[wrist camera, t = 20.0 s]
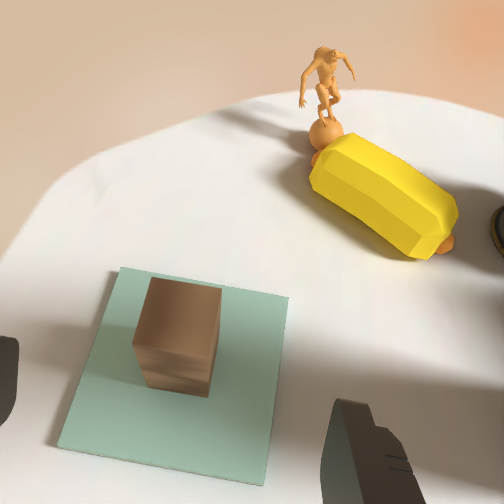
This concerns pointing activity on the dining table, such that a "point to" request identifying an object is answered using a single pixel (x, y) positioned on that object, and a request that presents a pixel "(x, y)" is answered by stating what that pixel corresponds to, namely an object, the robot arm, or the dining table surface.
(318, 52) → the figurine
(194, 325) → the walnut block
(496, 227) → the apothecary jar
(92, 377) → the teal board
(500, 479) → the dining table surface
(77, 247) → the dining table surface
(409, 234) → the yellow faceted bar
